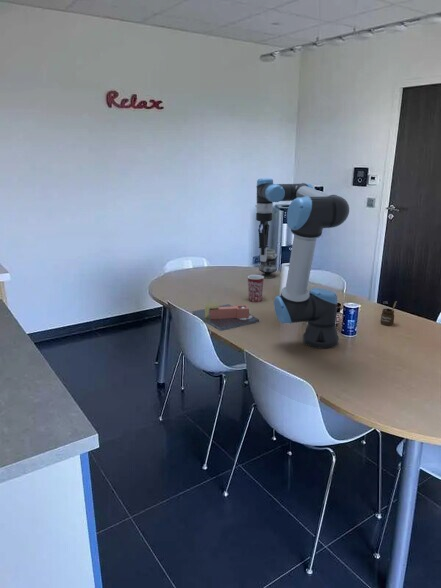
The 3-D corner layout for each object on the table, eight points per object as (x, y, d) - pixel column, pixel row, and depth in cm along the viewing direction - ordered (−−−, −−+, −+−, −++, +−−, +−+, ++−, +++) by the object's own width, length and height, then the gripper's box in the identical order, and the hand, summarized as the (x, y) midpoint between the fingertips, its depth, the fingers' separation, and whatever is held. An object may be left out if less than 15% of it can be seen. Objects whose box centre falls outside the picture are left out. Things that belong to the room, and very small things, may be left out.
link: (210, 320, 221) (210, 310, 220) (209, 316, 227) (209, 306, 225) (248, 318, 223) (248, 308, 222) (246, 314, 228) (246, 305, 227)
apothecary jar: (277, 279, 297) (278, 251, 292) (259, 279, 298) (259, 252, 292) (275, 274, 309) (276, 248, 304) (258, 274, 309) (258, 248, 304)
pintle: (246, 316, 226) (246, 307, 225) (242, 317, 225) (242, 308, 223) (244, 315, 228) (244, 306, 226) (240, 316, 227) (240, 306, 225)
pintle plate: (260, 321, 222) (260, 319, 222) (220, 330, 211) (220, 328, 211) (229, 306, 245) (229, 303, 245) (192, 313, 234) (192, 311, 234)
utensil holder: (383, 320, 223) (386, 297, 219) (396, 324, 218) (399, 300, 215) (377, 323, 219) (380, 300, 215) (390, 327, 214) (393, 303, 211)
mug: (259, 303, 249) (260, 279, 245) (244, 301, 253) (244, 277, 249) (268, 297, 260) (268, 274, 256) (253, 295, 264) (254, 272, 260)
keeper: (217, 317, 228) (217, 302, 226) (219, 321, 222) (218, 306, 220) (204, 318, 227) (204, 302, 225) (205, 322, 222) (205, 306, 219)
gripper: (259, 210, 222) (258, 257, 229) (253, 213, 210) (252, 263, 217) (275, 210, 219) (273, 258, 226) (269, 214, 208) (267, 264, 215)
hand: (263, 261), depth 222 cm, fingers closed
